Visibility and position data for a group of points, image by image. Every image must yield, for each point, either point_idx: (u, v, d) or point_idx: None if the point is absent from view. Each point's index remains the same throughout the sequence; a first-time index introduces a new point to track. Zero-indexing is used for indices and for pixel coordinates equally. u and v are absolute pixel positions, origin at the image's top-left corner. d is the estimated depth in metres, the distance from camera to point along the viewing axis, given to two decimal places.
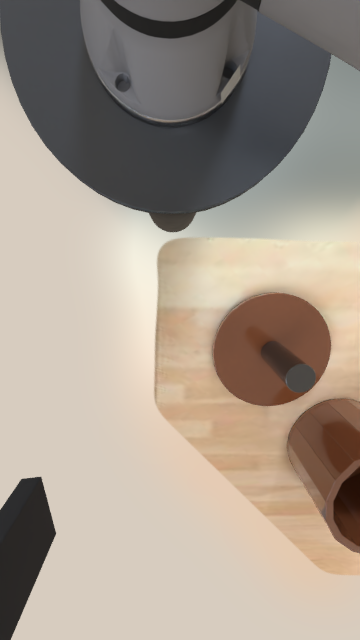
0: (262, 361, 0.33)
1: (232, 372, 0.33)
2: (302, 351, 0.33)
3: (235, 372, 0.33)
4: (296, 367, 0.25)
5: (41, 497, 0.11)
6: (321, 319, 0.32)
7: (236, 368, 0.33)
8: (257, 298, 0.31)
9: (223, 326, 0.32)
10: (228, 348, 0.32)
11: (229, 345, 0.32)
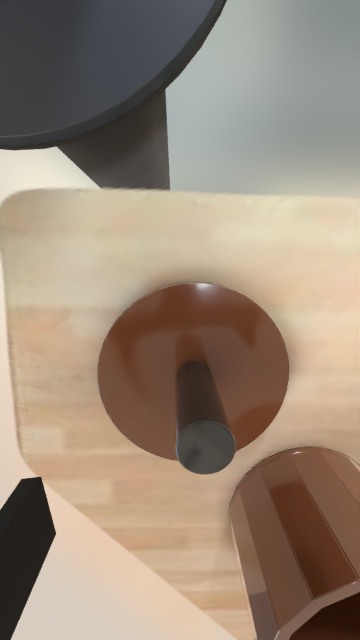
0: None
1: (131, 411, 0.20)
2: (242, 377, 0.20)
3: (136, 411, 0.21)
4: (195, 427, 0.12)
5: (41, 497, 0.11)
6: (272, 326, 0.19)
7: (137, 405, 0.20)
8: (163, 291, 0.19)
9: (110, 338, 0.19)
10: (122, 373, 0.20)
11: (122, 368, 0.20)
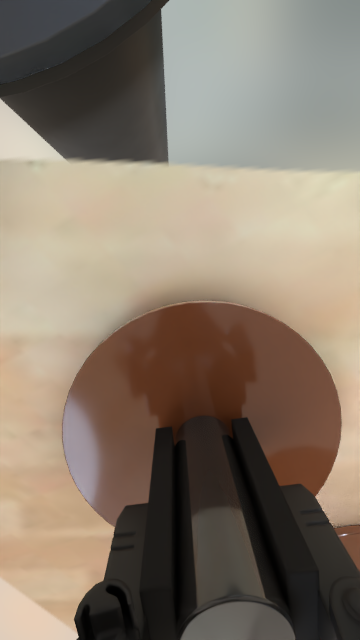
0: None
1: (112, 485, 0.14)
2: (273, 437, 0.14)
3: (119, 484, 0.14)
4: (217, 610, 0.06)
5: (173, 442, 0.13)
6: (319, 365, 0.13)
7: (121, 477, 0.14)
8: (158, 315, 0.12)
9: (79, 382, 0.13)
10: (98, 432, 0.14)
11: (99, 426, 0.13)
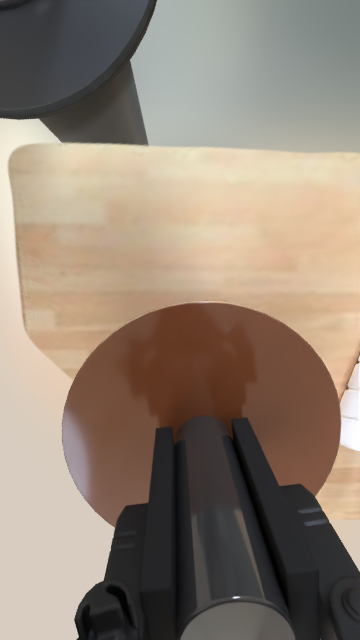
0: None
1: (112, 485, 0.14)
2: (273, 437, 0.14)
3: (119, 485, 0.14)
4: (216, 610, 0.06)
5: (173, 442, 0.13)
6: (319, 365, 0.13)
7: (121, 477, 0.14)
8: (157, 315, 0.12)
9: (79, 383, 0.13)
10: (97, 432, 0.14)
11: (98, 426, 0.13)
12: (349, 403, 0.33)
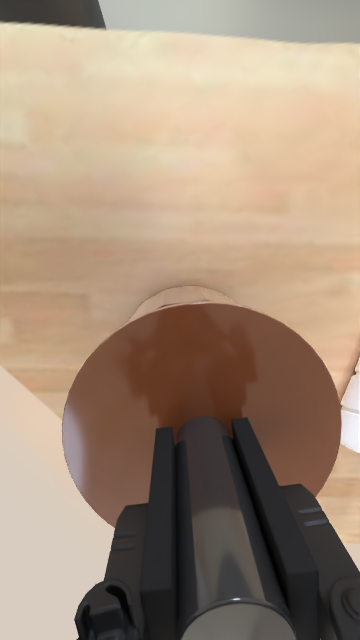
0: None
1: (112, 485, 0.14)
2: (273, 438, 0.14)
3: (119, 485, 0.14)
4: (217, 612, 0.06)
5: (173, 442, 0.13)
6: (319, 366, 0.13)
7: (121, 477, 0.14)
8: (158, 315, 0.12)
9: (79, 383, 0.13)
10: (98, 433, 0.14)
11: (98, 427, 0.13)
12: (357, 392, 0.25)
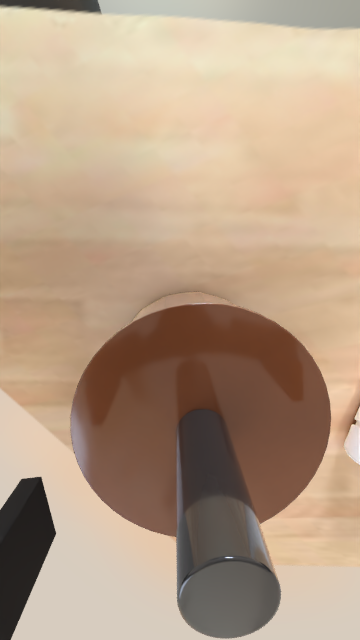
0: None
1: (117, 474, 0.15)
2: (267, 429, 0.15)
3: (123, 474, 0.15)
4: (212, 568, 0.07)
5: (41, 497, 0.11)
6: (309, 362, 0.14)
7: (125, 466, 0.15)
8: (160, 315, 0.13)
9: (86, 378, 0.14)
10: (103, 424, 0.15)
11: (104, 419, 0.14)
12: None
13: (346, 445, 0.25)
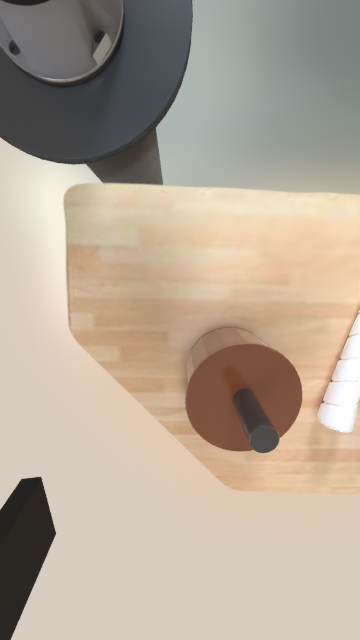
0: (234, 408, 0.33)
1: (204, 419, 0.33)
2: (273, 398, 0.33)
3: (207, 419, 0.33)
4: (259, 429, 0.25)
5: (41, 497, 0.11)
6: (292, 368, 0.32)
7: (208, 415, 0.33)
8: (228, 348, 0.31)
9: (194, 375, 0.32)
10: (200, 396, 0.33)
11: (201, 393, 0.32)
12: (332, 392, 0.41)
13: (317, 415, 0.43)
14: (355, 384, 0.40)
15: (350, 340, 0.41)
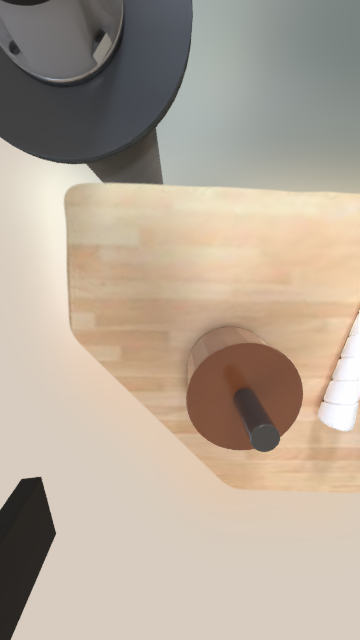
0: (235, 407, 0.33)
1: (205, 418, 0.33)
2: (274, 397, 0.33)
3: (208, 418, 0.33)
4: (260, 428, 0.25)
5: (41, 497, 0.11)
6: (292, 367, 0.32)
7: (209, 414, 0.33)
8: (228, 347, 0.31)
9: (195, 374, 0.32)
10: (201, 395, 0.33)
11: (202, 392, 0.33)
12: (333, 391, 0.41)
13: (318, 414, 0.43)
14: (356, 383, 0.40)
15: (350, 339, 0.41)
